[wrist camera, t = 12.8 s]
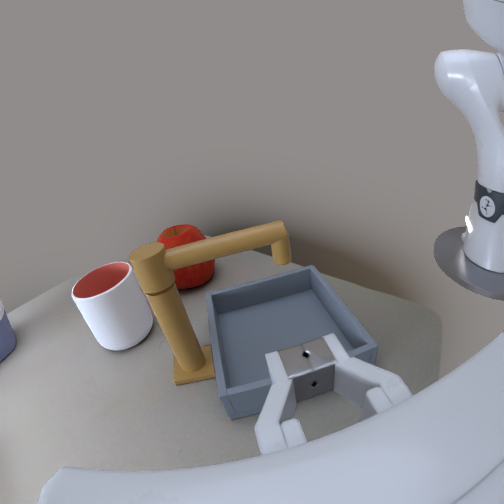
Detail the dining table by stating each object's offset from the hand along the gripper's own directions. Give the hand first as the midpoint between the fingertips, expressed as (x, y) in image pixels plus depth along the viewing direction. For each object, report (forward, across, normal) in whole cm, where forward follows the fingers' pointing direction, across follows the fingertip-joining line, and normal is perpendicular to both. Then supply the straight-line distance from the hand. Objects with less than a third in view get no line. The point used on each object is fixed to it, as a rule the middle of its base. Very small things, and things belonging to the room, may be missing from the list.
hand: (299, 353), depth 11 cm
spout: (+16, +3, +5) cm, 17 cm away
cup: (+26, +20, +16) cm, 37 cm away
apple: (+38, +9, +16) cm, 43 cm away
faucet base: (+16, +9, +16) cm, 25 cm away
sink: (+16, -2, +16) cm, 23 cm away
